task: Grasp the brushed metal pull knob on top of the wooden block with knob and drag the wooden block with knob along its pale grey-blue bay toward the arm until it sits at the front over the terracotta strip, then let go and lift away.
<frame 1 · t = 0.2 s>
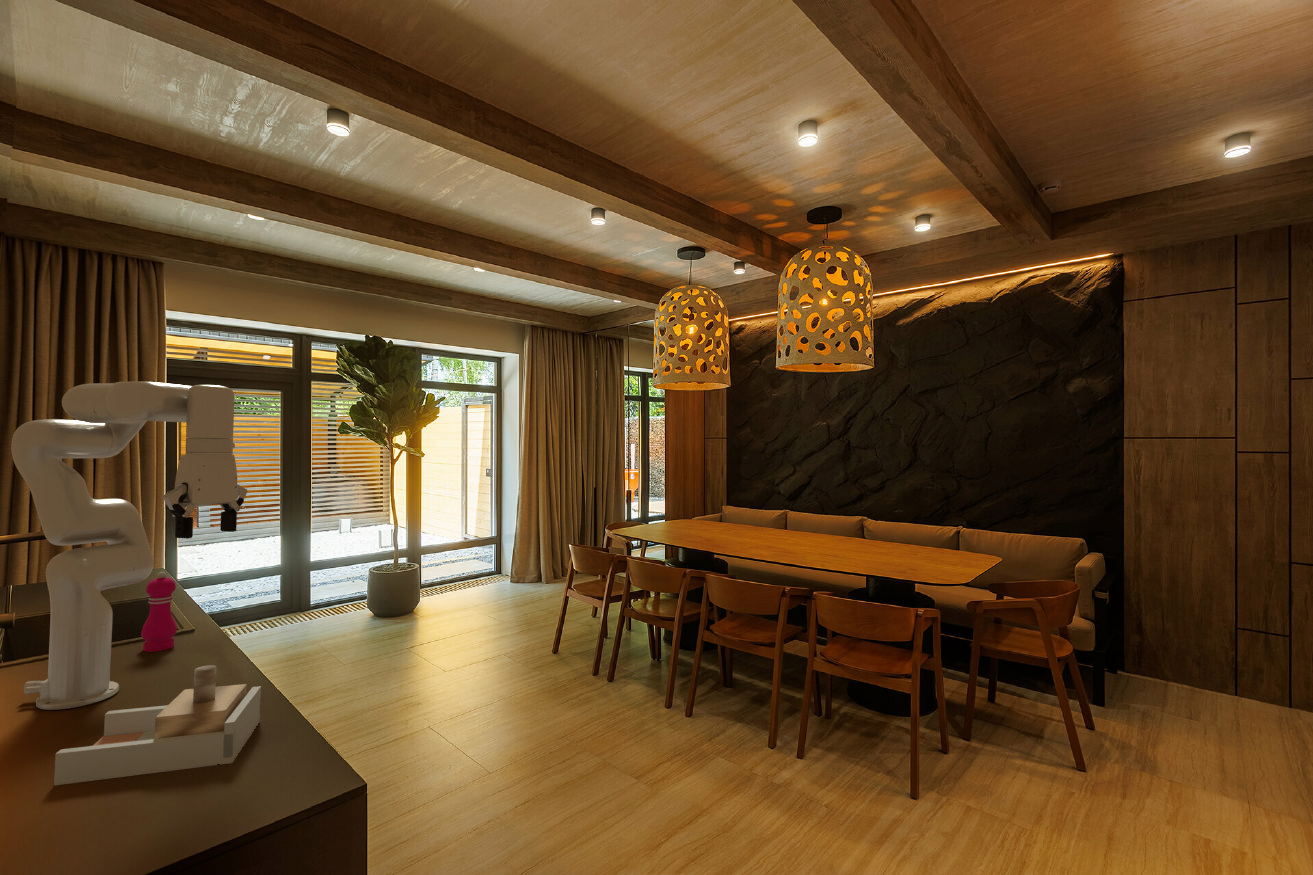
hand: (207, 534, 118), 37 cm above the counter, tool pointing down, fingers open, 9 cm apart
pepper mill: (158, 648, 157), on the counter
wooden block with knob: (204, 703, 108), point 8 cm above the counter, slide at 0.0 cm
bay: (167, 750, 106), on the counter
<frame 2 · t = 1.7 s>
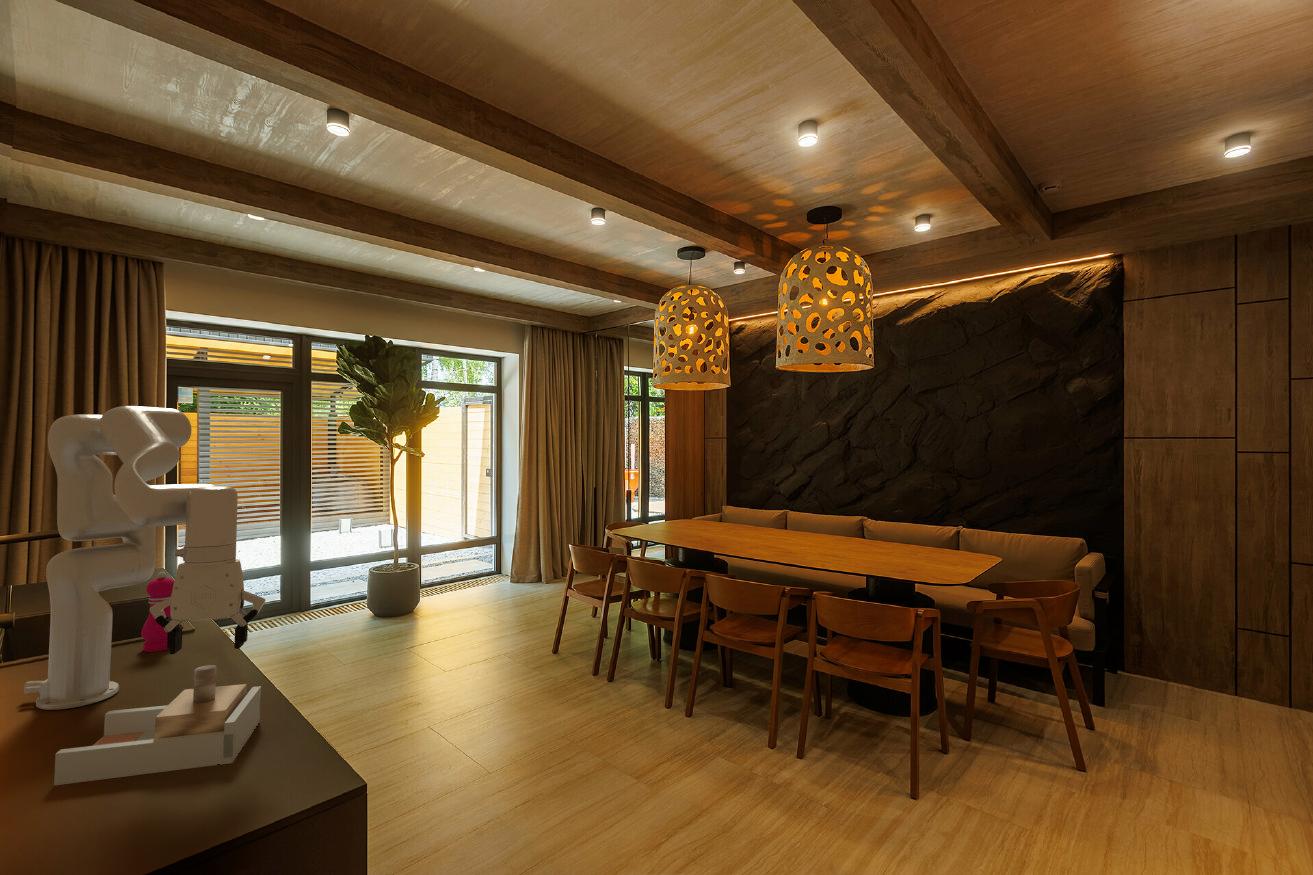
hand: (208, 649, 108), 18 cm above the counter, tool pointing down, fingers open, 9 cm apart
nothing on the counter moved.
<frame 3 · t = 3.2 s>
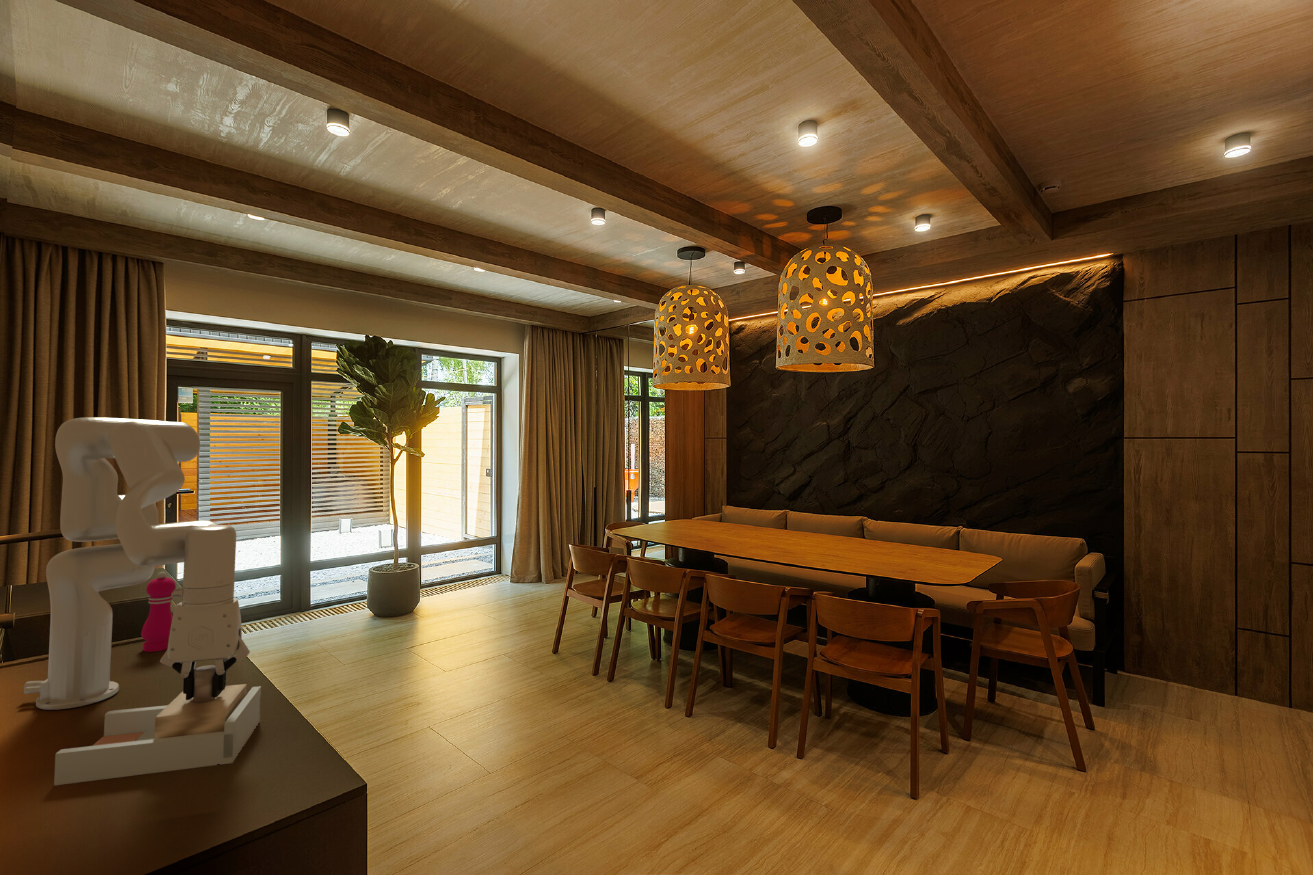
hand: (204, 694, 108), 9 cm above the counter, tool pointing down, fingers closed on wooden block with knob, 3 cm apart
wooden block with knob: (204, 703, 108), point 8 cm above the counter, slide at 0.0 cm, touching gripper
everything else where it was.
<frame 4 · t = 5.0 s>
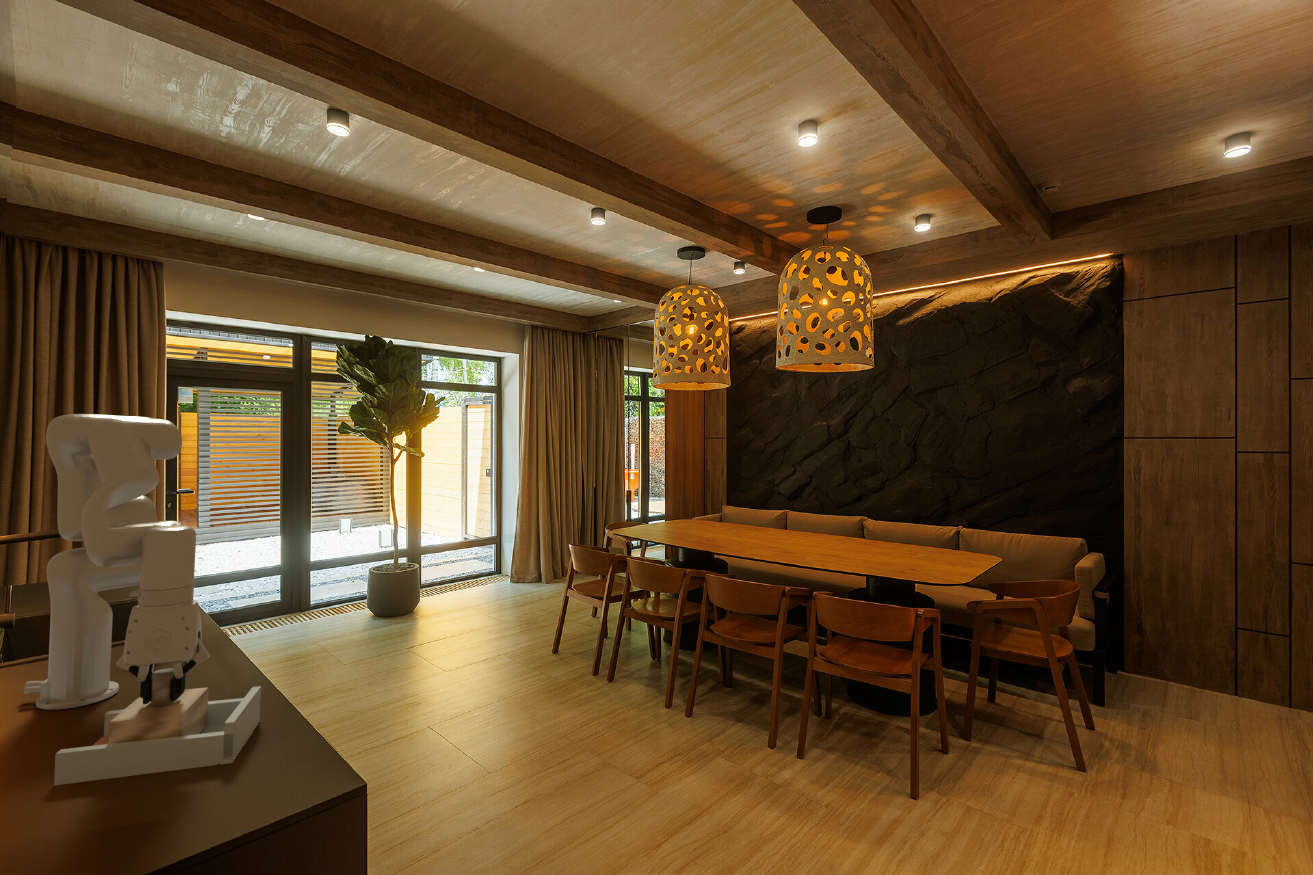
hand: (162, 698, 106), 9 cm above the counter, tool pointing down, fingers closed on wooden block with knob, 3 cm apart
wooden block with knob: (162, 707, 106), point 8 cm above the counter, slide at 6.2 cm, touching gripper
everything else where it was.
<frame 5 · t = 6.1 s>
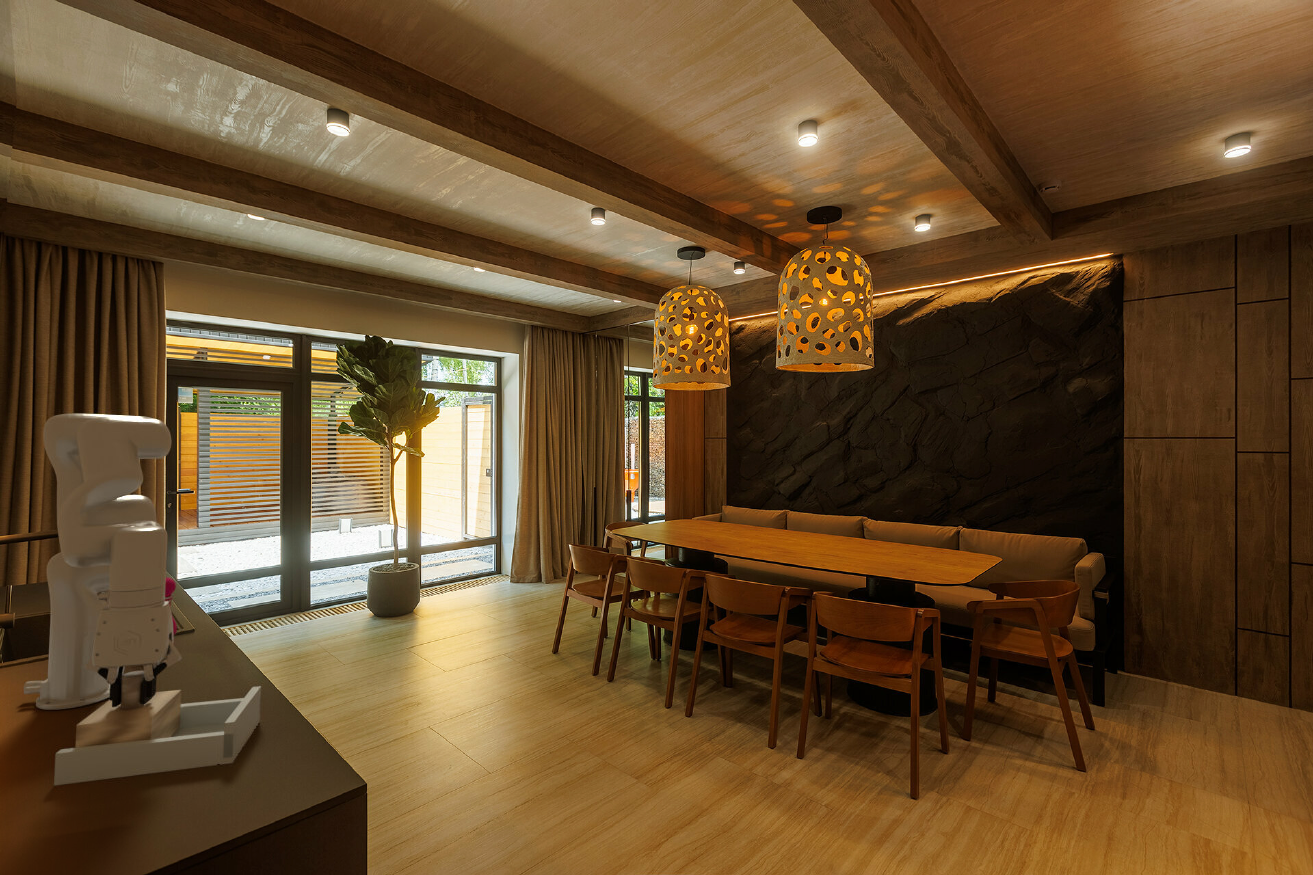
hand: (132, 701, 105), 9 cm above the counter, tool pointing down, fingers closed on wooden block with knob, 3 cm apart
wooden block with knob: (132, 710, 105), point 8 cm above the counter, slide at 10.5 cm, touching gripper
everything else where it was.
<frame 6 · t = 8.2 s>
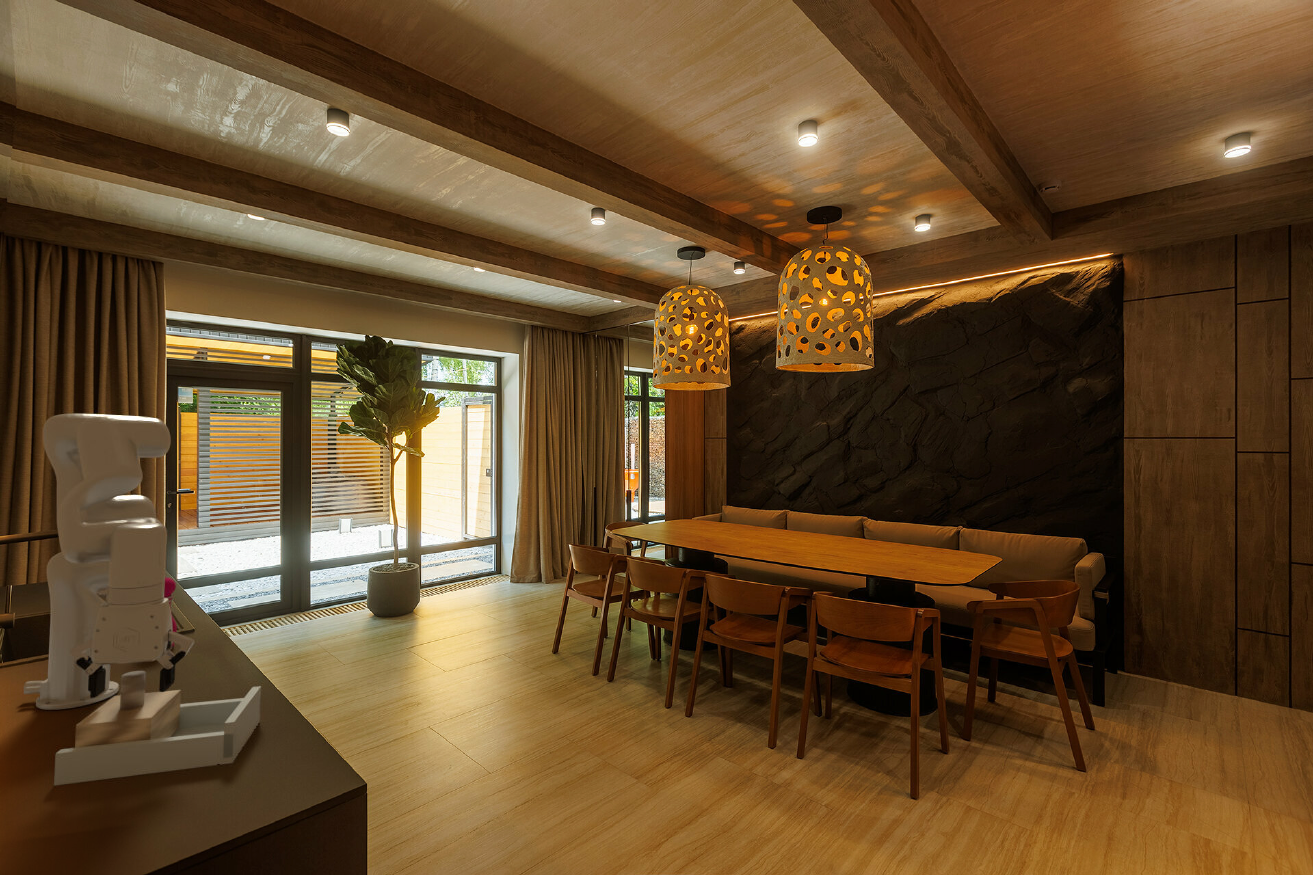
hand: (132, 691, 105), 11 cm above the counter, tool pointing down, fingers open, 9 cm apart
wooden block with knob: (132, 710, 105), point 8 cm above the counter, slide at 10.6 cm
everything else where it was.
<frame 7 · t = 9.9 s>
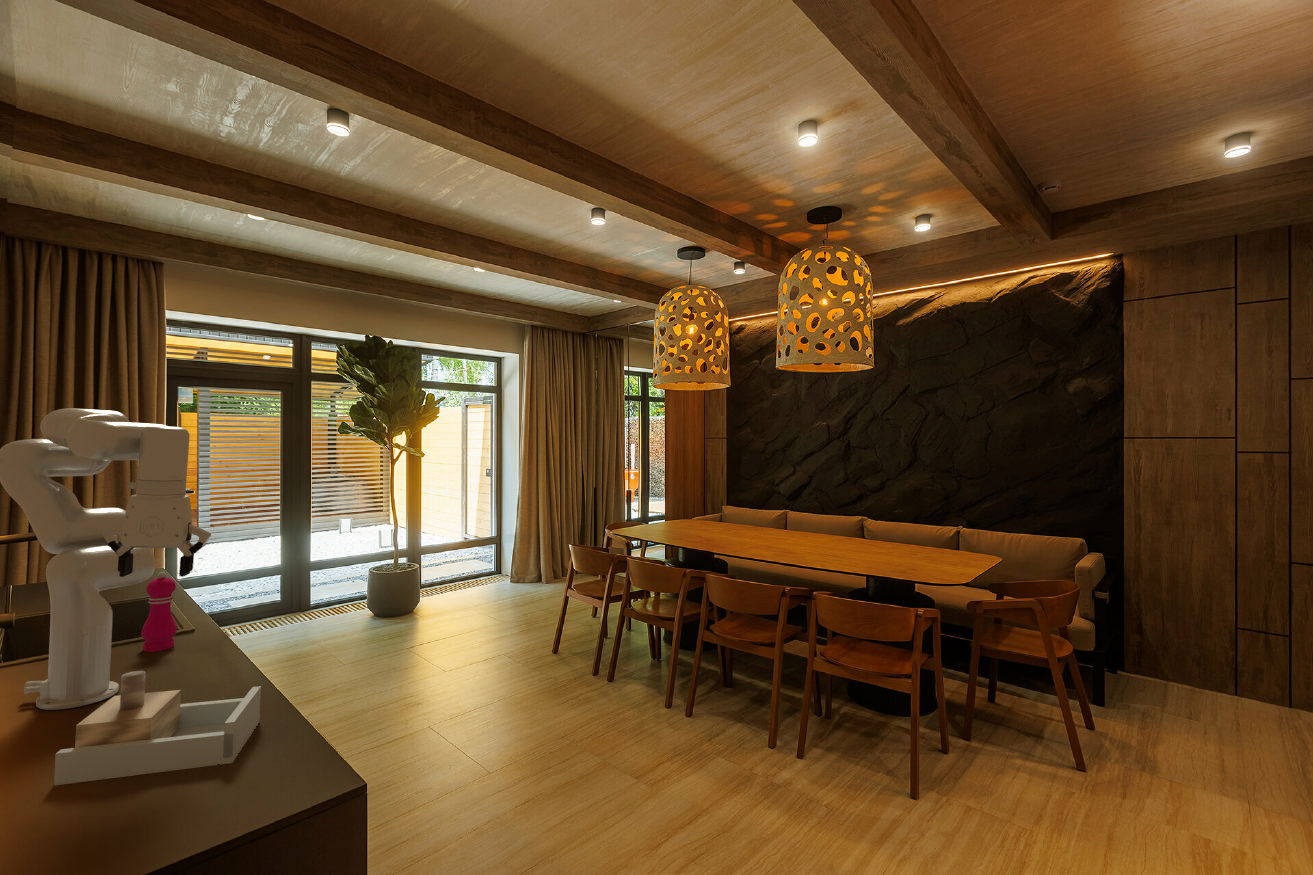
hand: (155, 575, 118), 28 cm above the counter, tool pointing down, fingers open, 9 cm apart
nothing on the counter moved.
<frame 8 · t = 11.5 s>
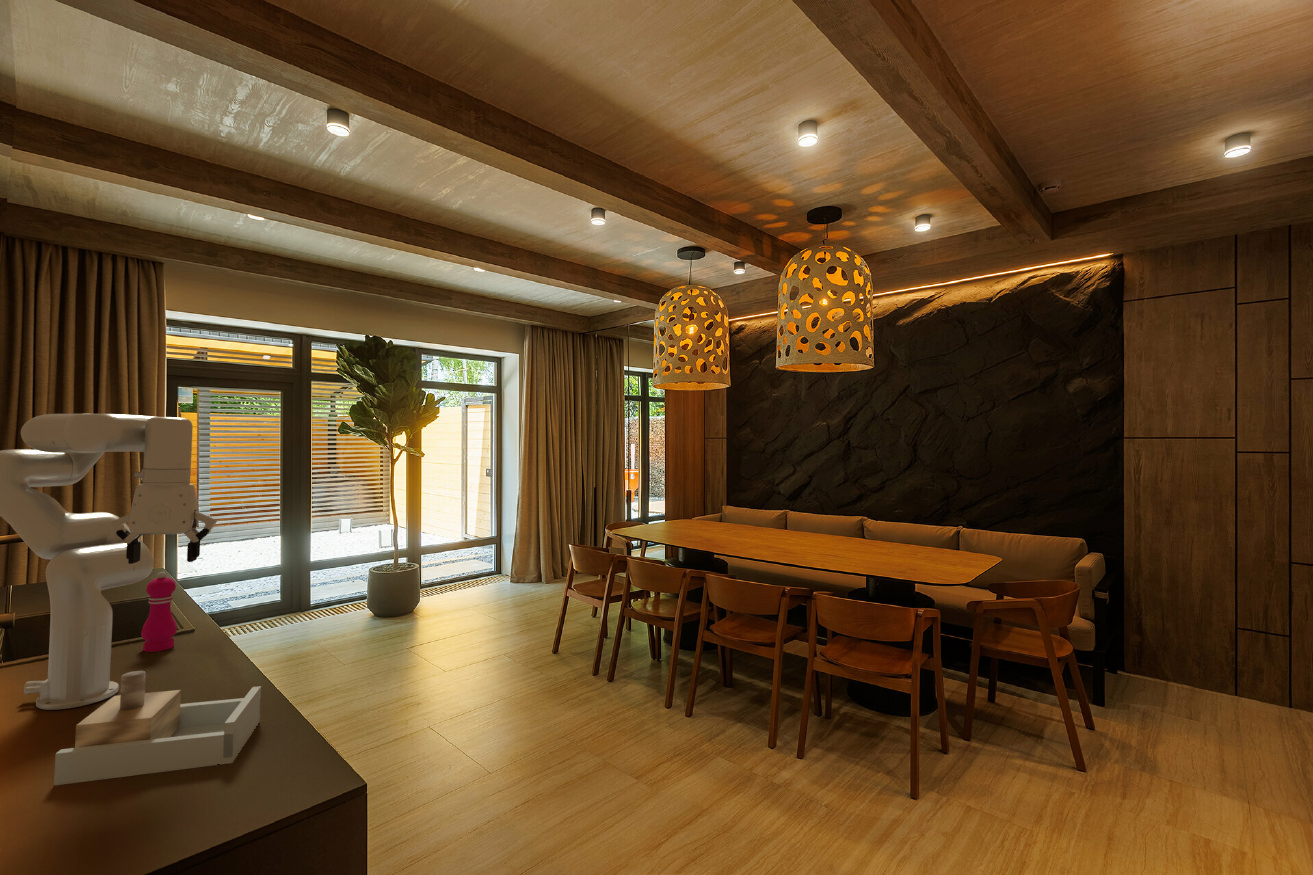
hand: (163, 561, 121), 30 cm above the counter, tool pointing down, fingers open, 9 cm apart
nothing on the counter moved.
at the end: wooden block with knob slide at 10.6 cm; the gripper is holding nothing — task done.
